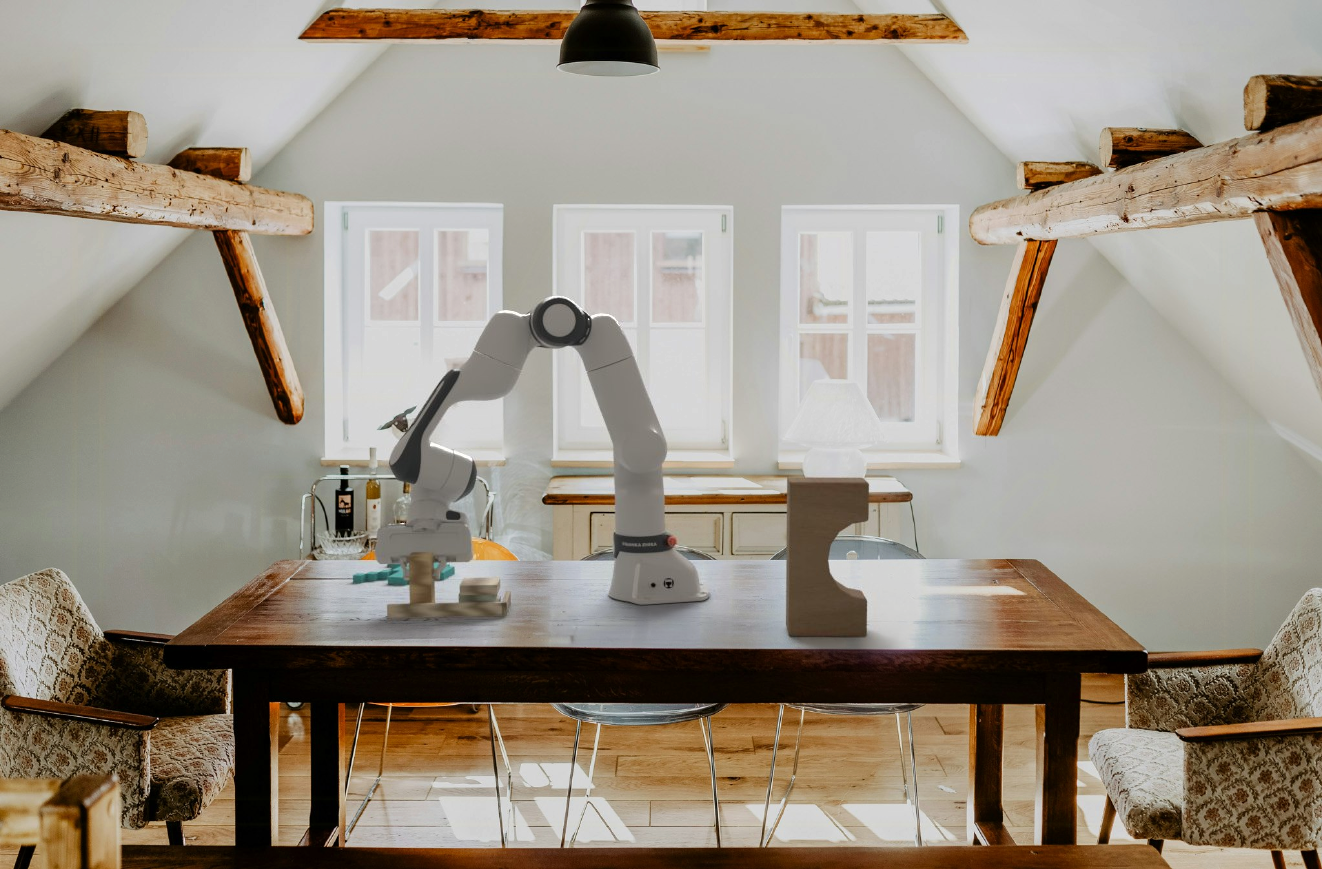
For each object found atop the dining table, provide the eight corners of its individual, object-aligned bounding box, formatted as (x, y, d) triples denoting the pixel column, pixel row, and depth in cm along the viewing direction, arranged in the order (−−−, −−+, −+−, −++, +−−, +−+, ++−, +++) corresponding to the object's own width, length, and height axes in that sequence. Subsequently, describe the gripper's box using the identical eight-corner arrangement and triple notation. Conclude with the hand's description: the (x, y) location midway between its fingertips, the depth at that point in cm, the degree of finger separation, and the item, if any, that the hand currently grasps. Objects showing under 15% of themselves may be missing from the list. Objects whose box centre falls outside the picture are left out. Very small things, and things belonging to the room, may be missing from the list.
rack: (510, 608, 222) (510, 591, 222) (506, 621, 212) (506, 602, 212) (396, 610, 221) (396, 593, 221) (387, 623, 211) (386, 605, 211)
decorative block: (861, 626, 208) (863, 477, 205) (867, 637, 200) (869, 482, 197) (785, 626, 208) (786, 477, 206) (788, 636, 201) (789, 482, 198)
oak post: (435, 603, 218) (433, 551, 217) (431, 608, 214) (430, 555, 213) (413, 603, 218) (412, 551, 217) (410, 609, 214) (408, 556, 213)
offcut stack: (500, 605, 221) (500, 577, 220) (497, 613, 214) (497, 584, 213) (462, 605, 220) (462, 577, 220) (458, 614, 213) (457, 585, 213)
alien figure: (353, 584, 247) (432, 588, 243) (352, 575, 247) (431, 578, 243) (391, 566, 266) (465, 569, 262) (391, 557, 266) (464, 560, 262)
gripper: (375, 515, 221) (367, 571, 212) (473, 513, 222) (468, 568, 213) (381, 532, 226) (373, 587, 217) (476, 530, 227) (472, 585, 218)
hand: (421, 578), depth 215 cm, fingers closed on oak post, 4 cm apart
